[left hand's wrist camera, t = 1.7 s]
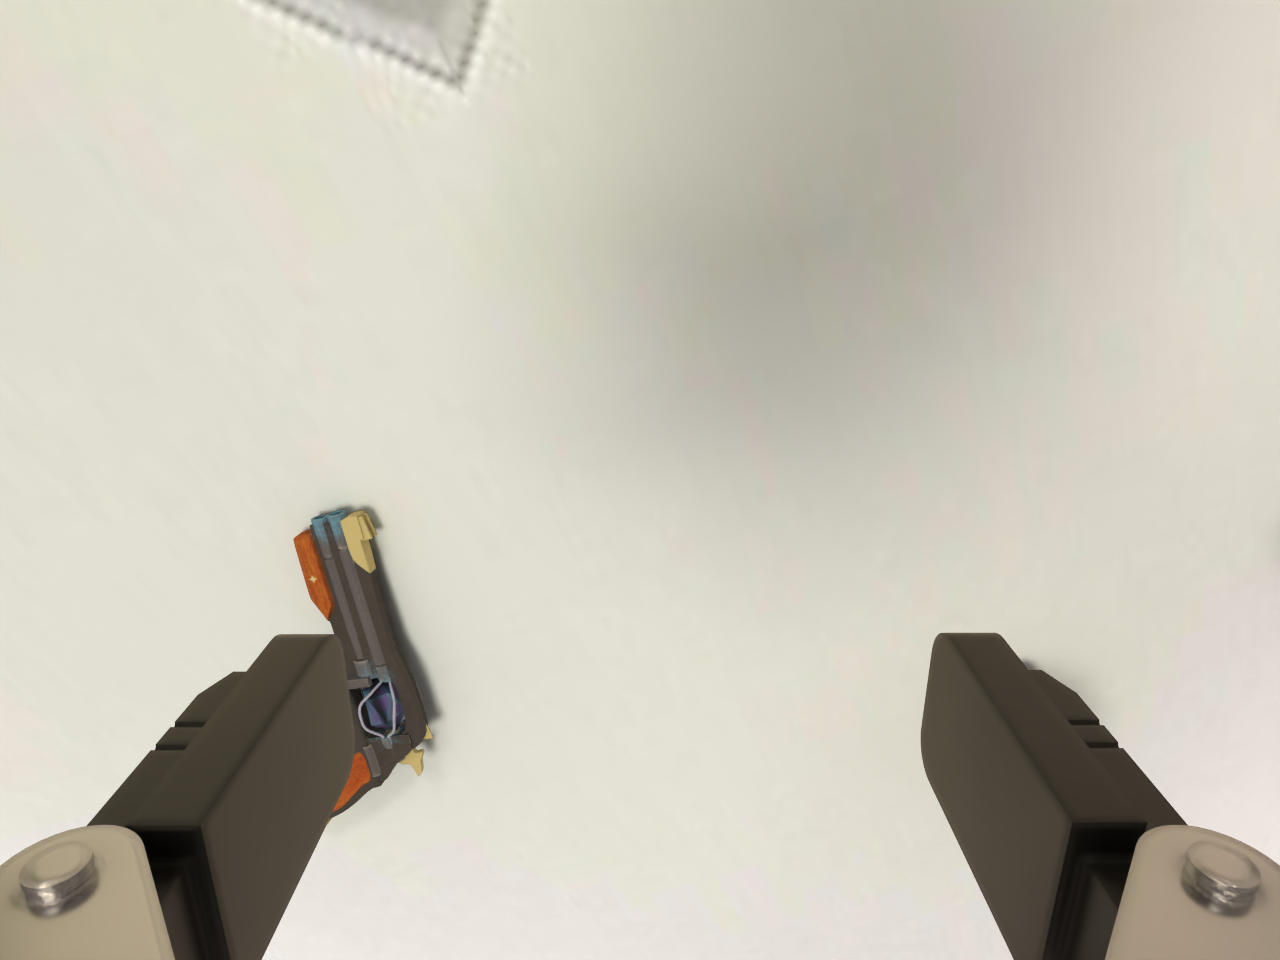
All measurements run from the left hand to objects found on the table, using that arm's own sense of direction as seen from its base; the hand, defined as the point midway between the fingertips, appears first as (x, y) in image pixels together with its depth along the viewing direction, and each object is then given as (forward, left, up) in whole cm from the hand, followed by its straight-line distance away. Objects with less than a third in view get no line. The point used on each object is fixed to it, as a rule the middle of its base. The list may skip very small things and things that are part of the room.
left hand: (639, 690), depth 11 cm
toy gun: (+25, +7, -32) cm, 42 cm away
